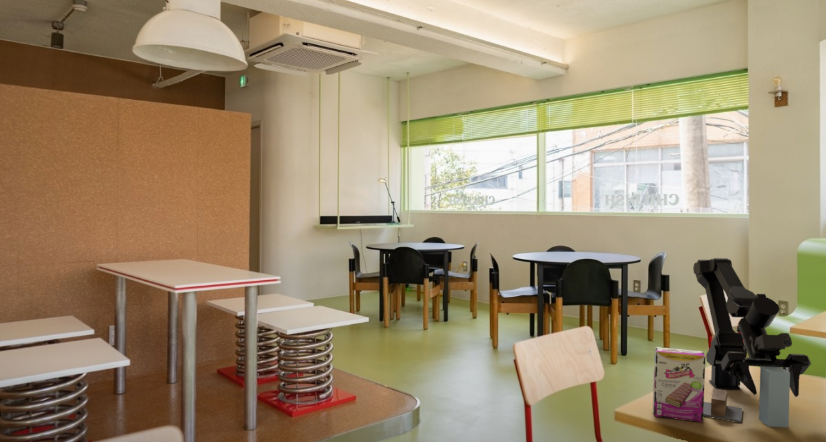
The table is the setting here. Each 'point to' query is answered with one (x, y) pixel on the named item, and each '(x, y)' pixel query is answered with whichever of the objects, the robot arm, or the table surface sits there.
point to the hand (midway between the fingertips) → (776, 395)
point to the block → (774, 396)
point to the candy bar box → (679, 384)
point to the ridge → (719, 402)
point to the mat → (730, 413)
